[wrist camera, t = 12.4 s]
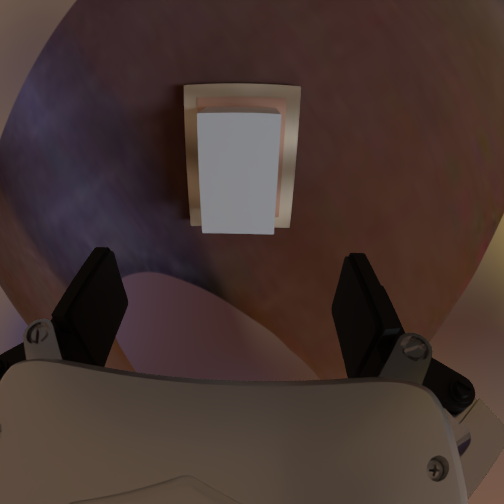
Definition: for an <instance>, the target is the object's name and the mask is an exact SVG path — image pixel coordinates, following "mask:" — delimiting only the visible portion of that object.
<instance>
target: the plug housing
mask: <svg viewBox="0 0 504 504" xmlns="http://www.w3.org/2000/svg"><path fill="white" fill-rule="evenodd" d="M280 131H281V113H280V112H279V111H278V109H277V108H267V107H206V108H204V109H203V110H201V111H200V112H198V113H197V135H198V164H199V185H200V204H201V220H202V233H237V234H274V223H275V209H276V195H277V180H278V164H279V148H280Z"/></svg>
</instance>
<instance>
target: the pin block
mask: <svg viewBox="0 0 504 504" xmlns="http://www.w3.org/2000/svg"><path fill="white" fill-rule="evenodd" d="M300 95H301V87H300V86H290V85H275V84H249V83H220V84H194V85H184V119H185V145H186V164H187V181H188V195H189V208H190V220H191V226H202V220H201V204H200V185H199V164H198V135H197V113H198V112H200V111H201V110H203V109H204V108H206V107H267V108H277V109H278V111H279V112H280V113H281V131H280V148H279V164H278V180H277V195H276V209H275V223H274V227H282V228H290V218H291V208H292V197H293V187H294V176H295V164H296V152H297V139H298V126H299V111H300Z"/></svg>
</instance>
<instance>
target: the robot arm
mask: <svg viewBox="0 0 504 504" xmlns="http://www.w3.org/2000/svg"><path fill="white" fill-rule="evenodd" d="M127 306H128V299H127V295H126V292H125V289H124V286H123V283H122V279H121V276H120V273H119V269H118V266H117V262H116V259H115V255H114V252H113V251H110V249H109V248H108V247H96V248H95V249H94V250H93V251H92V253H91V254H90V256H89V257H88V258H87V260H86V261H85V263H84V264H83V266H82V267H81V269H80V270H79V272H78V273H77V275H76V276H75V278H74V279H73V281H72V282H71V284H70V285H69V287H68V288H67V290H66V292H65V293H64V295H63V296H62V298H61V300H60V301H59V303H58V305H57V306H56V308H55V310H54V311H53V313H52V317H53V318H52V320H51V321H49V320H47V319H39V320H36V321H34V322H32V323H31V324H30V325H29V326H28V327H27V329H26V330H25V332H24V335H23V340H24V342H23V343H21V344H19V345H17V346H16V347H14V348H12V349H10V350H8V351H6V352H4V353H3V354H1V355H0V504H468V499H469V497H470V496H471V495H472V494H473V492H474V491H475V490H476V488H477V487H478V486H479V484H480V483H481V482H482V480H483V479H484V477H485V476H486V475H487V473H488V472H489V470H490V468H491V467H492V466H493V464H494V463H495V461H496V460H497V458H498V457H499V455H500V453H501V452H502V450H503V448H504V424H503V423H502V421H501V420H500V419H499V418H498V417H497V416H496V415H495V414H494V413H493V412H492V411H491V410H490V409H489V407H488V406H487V405H485V403H484V402H483V401H482V400H481V399H478V400H476V399H475V390H474V387H473V385H472V383H471V382H470V381H469V380H468V379H467V378H466V377H464V376H462V375H461V374H459V373H457V372H455V371H454V370H452V369H450V368H449V367H447V366H445V365H444V364H442V363H440V362H439V361H437V360H435V359H433V358H432V347H431V345H430V343H429V342H428V341H427V340H426V339H425V338H424V337H422V336H421V335H419V334H416V333H405V332H404V329H403V327H402V325H401V323H400V320H399V318H398V316H397V314H396V312H395V309H394V307H393V305H392V303H391V301H390V299H389V297H388V295H387V292H386V290H385V289H384V287H383V286H382V285H380V283H379V281H378V279H377V277H376V275H375V273H374V271H373V269H372V267H371V265H370V263H369V261H368V259H367V257H366V255H365V254H364V253H350V255H349V257H347V256H346V257H345V259H344V263H343V267H342V270H341V274H340V278H339V282H338V286H337V289H336V293H335V297H334V300H333V304H332V315H333V319H334V323H335V327H336V331H337V335H338V339H339V343H340V347H341V351H342V355H343V359H344V363H345V368H346V372H347V376H348V378H346V379H330V380H308V381H230V380H210V379H194V378H182V377H172V376H163V375H154V374H146V373H138V372H131V371H125V370H118V369H112V368H106V367H104V366H105V363H106V360H107V358H108V355H109V352H110V350H111V347H112V344H113V342H114V339H115V336H116V334H117V331H118V329H119V326H120V324H121V321H122V319H123V316H124V314H125V311H126V309H127Z"/></svg>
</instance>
